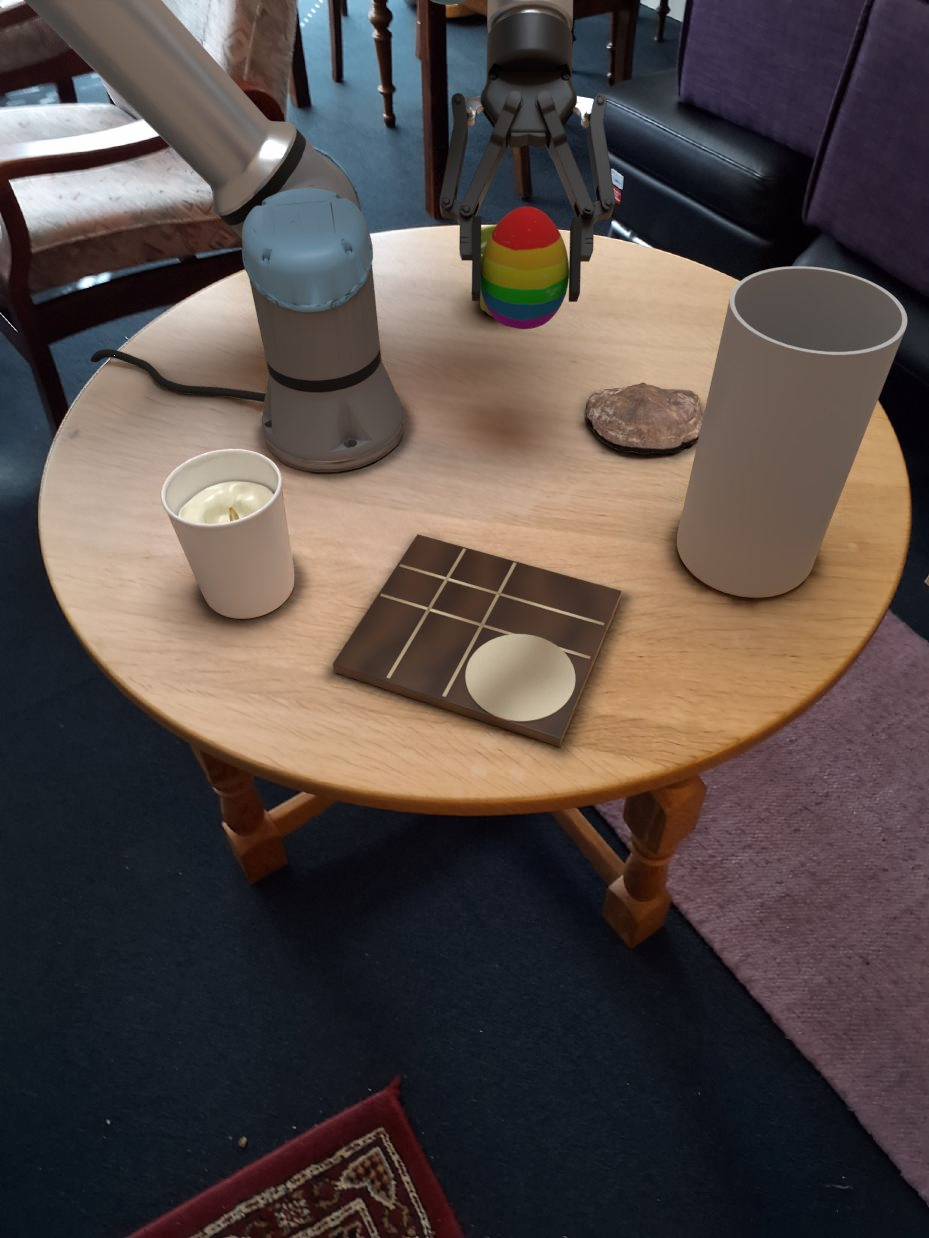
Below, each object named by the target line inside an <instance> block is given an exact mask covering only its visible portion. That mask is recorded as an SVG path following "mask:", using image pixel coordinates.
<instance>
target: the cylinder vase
mask: <svg viewBox="0 0 929 1238" xmlns="http://www.w3.org/2000/svg"><path fill="white" fill-rule="evenodd" d="M907 325H908V316H907V312H906V310H905V307H904V306H903V305H902V304H901V302H900V301H899V300H898V299H897V298H896V297H895V295H893V294H892V293H890V292H889V291H888V290H887V289H885V288H883V287H882V286H880V285H878V284H876V283H874V282H873V281H870V280H868V279H866V278H863V277H860V276H858V275H855V274H852V273H848V272H845V271H841V270H836V269H832V268H831V269H830V268H825V267H818V266H806V265H805V266H804V265H803V266H802V265H801V266H800V265H796V266H794V265H792V266H780V267H773V268H768V269H764V270H759V271H758V272H755V273H752V274H750V275H748V276H746V277H744V278H743V279H742V280H740V281H739V282H738V283H736V284H735V286H734V287H733V288H732V290H731V292H730V294H729V300H728V304H727V309H726V313H725V317H724V322H723V326H722V330H721V335H720V340H719V344H718V349H717V354H716V358H715V363H714V368H713V372H712V376H711V381H710V385H709V390H708V394H707V398H706V403H705V407H704V412H703V415H702V416H703V421H702V425H701V430H700V434H699V436H698V438H697V444H696V448H695V452H694V457H693V462H692V466H691V470H690V475H689V479H688V483H687V489H686V492H685V496H684V497H685V498H684V502H683V507H682V511H681V516H680V520H679V525H678V528H677V534H676V548H677V552H678V555H679V557H680V559H681V562H682V563H683V564H684V565H685V567H686V568H687V570H689V572H690V573H691V574H692V575H693V576H694V577H696V578H697V579H698V580H699V581H701V583H704V584H705V585H707V586H708V587H711V588H713V589H715V590H717V591H720V592H722V593H725V594H729V595H733V596H736V597H742V598H754V599H757V598H759V599H760V598H770V597H775V596H779V595H782V594H786V593H788V592H790V591H792V590H793V589H795V588H796V587H798V586H800V585H801V584H802V583H803V582H804V581H805V580H806V579H807V578H808V576H809V575H810V573H811V572H812V569H813V567H814V565H815V562H816V559H817V557H818V554H819V551H820V549H821V546H822V545H823V541H824V539H825V537H826V534H827V531H828V529H829V526H830V523H831V521H832V519H833V515H834V513H835V510H836V509H837V506H838V503H839V501H840V498H841V495H842V493H843V490H844V488H845V485H846V482H847V480H848V478H849V475H850V472H851V469H852V468H853V465H854V462H855V460H856V457H857V454H858V452H859V449H860V446H861V445H862V441H863V439H864V437H865V434H866V431H867V429H868V426H869V425H870V422H871V418H872V417H873V413H874V411H875V409H876V405H877V403H878V400H879V398H880V396H881V393H882V390H883V388H884V385H885V383H886V381H887V377H888V376H889V373H890V370H891V368H892V365H893V362H894V360H895V357H896V355H897V352H898V350H899V347H900V344H901V342H902V340H903V336H904V334H905V332H906V329H907Z"/></svg>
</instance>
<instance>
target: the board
mask: <svg viewBox="0 0 929 1238" xmlns="http://www.w3.org/2000/svg"><path fill="white" fill-rule="evenodd" d="M621 596H622V590H620V589H617V588H613V587H609V586H606V585H603V584H602V585H601V584H598V583H595V582H592V581H588V580H584V579H581V578H577V577H574V576H570V575H566V574H562V573H559V572H555V571H551V570H548V569H544V568H541V567H537V566H535V565H530V564H526V563H523V562H519V561H515V560H512V559H508V558H505V557H501V556H498V555H494V554H490V553H487V552H483V551H479V550H476V549H472V548H469V547H465V546H461V545H458V544H455V543H451V542H447V541H445V540H440V539H436V538H433V537H431V536H430V537H429V536H426V535H423V534H416V536H415V537H414V539H413V540H412V542H411V543H410V545H409V546H408V548H407V550H406V551H405V553H404V554H403V556H401V559H400V560H399V562H398V563H397V564H396V566H395V568H394V569H393V571H392V572H391V574H390V576H389V577H388V578H387V580H386V582H385V583H384V584H383V586H382V588H381V589H380V590H379V592H378V594H377V595H376V597H375V598H374V600H373V601H372V603H371V605H370V606H369V607H368V609H367V611H366V612H365V613H364V616H363V617H362V618H361V620H360V621H359V623H358V624H357V626H356V627H355V629H354V630H353V632H352V633H351V634H350V637H349V638H348V640H347V641H346V643H345V644H344V645H343V647H342V649H341V650H340V651H339V653H338V655H337V656H336V658H335V660H334V661H333V663H332V666H333V671H334V673H336V674H337V675H342V676H344V677H347V678H350V679H354V680H357V681H359V682H362V683H366V684H369V685H371V686H374V687H377V688H381V689H384V690H387V691H389V692H393V693H396V694H398V695H401V696H405V697H407V698H410V699H414V700H417V701H420V702H423V703H426V704H429V705H432V706H435V707H438V708H440V709H444V710H447V711H450V712H453V713H456V714H458V715H462V716H464V717H468V718H471V719H474V720H477V721H480V722H483V723H486V724H488V725H492V726H495V727H497V728H500V729H504V730H507V731H510V732H513V733H516V734H518V735H522V736H524V737H528V738H531V739H534V740H537V741H540V742H543V743H546V744H549V745H552V746H555V747H558V748H560V747H561V746H562V744H563V743H562V742H563V740H564V738H565V735H566V733H567V731H568V728H569V726H570V724H571V721H572V719H573V716H574V714H575V712H576V709H577V706H578V703H579V702H580V699H581V696H582V694H583V692H584V689H585V687H586V684H587V682H588V680H589V678H590V674H591V672H592V669H593V668H594V666H595V665H594V664H595V662H596V660H597V657H598V655H599V652H600V650H601V648H602V645H603V642H604V640H605V638H606V636H607V633H608V630H609V628H610V626H611V623H612V621H613V618H614V616H615V613H616V611H617V609H618V606H619V604H620V601H621Z"/></svg>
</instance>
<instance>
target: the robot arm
mask: <svg viewBox="0 0 929 1238" xmlns="http://www.w3.org/2000/svg"><path fill="white" fill-rule="evenodd" d="M23 1H24V2H25V3H26V4H27V5H28V6H29V7H30V8H31V9H32V10H33V11H34V12H35V13H36V14H37V15H38V17H40V18H41V19H42V21H44V22H45V23H46V24H47V25H48V26H49V28H51V29H52V30H53V31H54V32H55V33H56V34H57V35H58V36H59V37H60V38H61V39H62V40H63V41H64V42H65V43H66V44H67V45H68V47H70V48H71V49H72V50H73V51H74V52H75V53H76V55H78V56H79V57H80V58H81V60H83V61H84V62H85V63H86V64H87V65H88V66H89V67H90V68H91V69H92V70H93V72H95V73H96V74H97V75H98V76H99V77H100V78H101V79H102V80H103V81H104V82H105V83H106V84H107V85H108V86H109V87H110V88H111V89H112V90H113V91H114V92H115V94H117V95H118V96H119V97H120V98H121V99H122V100H123V101H124V102H125V103H126V104H127V105H128V106H129V107H130V108H131V109H132V110H133V111H134V112H135V113H136V114H137V115H138V116H139V117H140V118H141V119H142V120H143V121H144V122H145V123H146V124H147V125H148V126H149V127H150V128H151V129H152V130H153V131H154V132H155V133H156V134H157V135H158V136H159V137H160V138H161V139H162V140H163V141H164V142H165V143H166V144H167V145H168V146H169V147H170V148H171V149H172V150H173V151H174V152H175V153H176V154H177V155H178V156H179V157H180V158H181V159H182V160H183V161H184V162H185V163H186V164H187V165H188V166H189V167H190V168H191V169H192V170H193V171H194V172H195V173H196V174H197V175H198V176H199V177H200V178H201V179H202V180H203V181H204V182H205V183H206V184H208V186H209V187H210V189H211V190H210V191H211V196H212V209H213V212H214V213H215V214H216V215H217V216H218V217H220V219H221V220H222V221H224V222H225V223H226V225H228V227H230V229H232V231H234V233H236V234H237V236H238V237H239V238H240V239H241V243H242V246H241V247H242V248H241V254H242V255H241V256H242V263H243V267H244V271H245V272H246V274H247V277H248V279H249V283H250V285H249V286H250V290H251V295H252V300H253V305H254V309H255V313H256V314H255V315H256V318H257V323H258V328H259V334H260V339H261V343H262V348H263V353H264V359H265V363H266V367H267V372H268V374H267V375H268V376H267V382H266V388H265V392H259V391H253V390H245V389H237V388H229V387H222V386H221V387H219V386H206V385H190V384H182V383H178V382H174V381H171V380H169V379H168V378H165V377H164V376H163V375H162V374H161V373H159V371H158V370H157V369H156V368H155V367H154V366H153V365H152V364H151V363H150V362H148V361H147V360H144V359H142V358H139V357H137V356H134V355H132V354H130V353H127V352H123V351H121V350H116V349H112V348H111V349H110V348H104V349H103V348H102V349H99V350H96V351H95V352H94V353H93V355H92V356H91V358H90V362H91V363H98V362H101V360H103V359H107V358H109V359H114V360H115V359H116V360H119V361H122V362H125V363H127V364H130V365H133V366H134V367H137V368H139V369H142V370H144V371H145V372H146V373H147V374H148V375H149V376H150V377H151V379H152V380H153V381H155V383H157V384H158V385H159V386H160V387H162V388H164V389H166V390H169V391H172V392H176V393H180V394H186V395H197V396H199V395H201V396H215V397H224V398H233V399H240V400H249V401H256V402H262V403H263V406H262V407H263V408H262V414H261V429H262V433H263V439H264V442H265V445H266V447H267V449H268V450H269V452H270V453H271V454H272V455H273V456H274V457H275V458H276V459H277V460H279V461H280V462H282V463H283V464H286V465H287V466H290V467H293V468H294V469H299V470H302V471H307V472H314V473H338V472H339V473H340V472H344V471H346V472H347V471H351V470H355V469H359V468H362V467H365V466H368V465H370V464H372V463H375V462H377V461H378V460H380V459H381V458H383V457H386V455H387V454H389V453H390V452H391V451H392V450H393V449H395V447H396V446H397V445H398V444H399V443H400V441H401V440H402V437H403V435H404V432H405V431H404V430H405V417H404V416H405V415H404V409H403V405H402V402H401V399H400V397H399V395H398V393H397V392H396V390H395V388H394V385H393V383H392V381H391V378H390V376H389V374H388V371H387V369H386V368H385V366H384V365H385V364H384V363H383V360H382V351H381V342H380V331H379V321H378V311H377V302H376V292H375V291H376V290H375V281H374V280H375V279H374V272H373V271H374V270H373V260H374V247H373V246H374V245H373V242H372V237H371V234H370V232H369V228H368V223H367V220H366V219H365V216H364V214H363V212H362V205H361V202H360V198H359V194H358V191H357V190H356V187H355V184H354V182H353V180H352V179H351V177H350V176H349V174H348V173H347V171H346V170H345V168H344V167H343V166H342V165H341V164H340V163H339V162H338V161H337V159H335V158H334V157H333V156H332V155H331V154H330V153H328V152H327V151H325V150H324V149H321V148H319V147H316V146H314V145H312V144H311V143H310V142H309V140H307V138H305V136H304V135H303V134H302V132H301V131H300V130H299V129H298V128H297V127H296V126H295V125H294V124H293V123H292V122H291V121H273V120H270V119H268V118H267V117H266V115H264V113H263V112H262V111H261V110H260V109H259V108H258V106H257V105H256V104H255V103H254V102H253V101H252V100H251V99H250V97H249V96H248V95H247V94H246V93H245V92H244V91H243V90H242V89H241V87H240V86H239V85H238V84H237V83H236V82H235V81H234V80H233V78H231V76H230V75H229V74H228V73H227V72H226V71H225V70H224V68H223V67H222V66H221V65H220V64H219V63H218V62H217V61H216V59H215V58H214V57H213V56H212V55H211V54H210V52H208V50H207V49H206V48H205V47H204V46H203V44H201V42H200V41H198V40H197V38H196V37H195V36H194V35H193V33H191V31H190V30H189V29H188V28H187V27H186V26H185V25H184V24H183V23H182V22H181V20H180V19H179V18H178V16H176V15H175V14H174V13H173V11H172V10H171V9H170V8H169V7H168V6H167V5H166V4H165V2H164V1H163V0H23ZM429 1H431V2H432V3H436V4H438V5H444V6H454V5H459V4H462V3H465V2H466V1H468V0H429ZM486 15H487V18H486V20H487V26H486V28H487V29H486V30H487V32H488V33H487V37H486V75H485V77H486V81H485V84H484V87H483V89H482V91H481V93H480V95H474V96H468V97H465V95H463V94H462V93H460V92H456V93H454V94H453V95H452V96H451V100H450V103H451V104H450V105H451V116H452V117H451V118H452V122H453V125H452V131H451V137H450V141H449V142H450V143H449V147H448V148H449V149H448V153H447V158H446V163H445V169H444V174H443V180H442V184H441V189H440V196H439V210H440V215H441V217H442V218H443V219H445V220H449V219H450V220H453V221H455V222H457V223H458V225H459V240H458V241H459V242H458V245H459V247H458V249H459V258H460V259H461V261H464V262H466V261H468V262H471V301H472V302H480V285H481V228H482V216H479V215H478V216H477V214H478V213H479V210H480V208H481V206H482V204H483V201H484V199H485V198H486V194H487V192H488V190H489V188H490V186H491V184H492V181H493V179H494V176H495V175H496V172H497V170H498V168H499V165H500V163H501V161H502V159H503V158H504V157H505V154H506V152H507V151H508V149H509V148H522V147H525V146H529V147H533V148H541V149H542V148H546V151H547V153H548V156H549V158H550V159H551V160H552V162H553V165H554V167H555V169H556V172H557V174H558V176H559V179H560V181H561V184H562V186H563V189H564V191H565V194H566V196H567V198H568V202H569V204H570V206H571V208H572V211H573V213H574V216H573V217H572V220H571V223H570V227H569V255H568V262H569V281H568V303H578V300H579V297H580V294H581V274H582V273H581V269H582V268H581V267H582V266H581V265H582V263H589V262H590V260H591V258H592V256H593V253H594V240H595V239H594V238H595V237H594V236H595V234H594V233H595V224H596V223H598V222H601V221H602V220H603V221H607V220H609V219H610V218H611V217H612V214H613V211H614V209H615V206H616V196H615V195H616V194H615V190H614V182H613V177H612V170H611V162H610V156H609V150H608V144H607V143H608V142H607V136H606V130H605V124H604V123H605V122H604V121H605V115H606V110H607V104H608V98H607V96H606V95H605V94H603V93H598V94H596V95H595V96H594V98H591V97H585V96H579V95H578V93H577V91H576V89H575V88H574V84H573V80H572V79H573V76H572V75H573V33H572V29H573V24H574V23H573V21H574V20H573V19H574V0H487V14H486ZM480 113H482V114H483V115H484V116H485V118H486V119H487V122H489V124H490V126H492V128H493V129H492V132H491V134H490V138H489V140H488V143H487V145H486V148H485V150H484V152H483V154H482V156H481V159H480V161H479V163H478V165H477V167H476V170H475V172H474V175H473V177H472V179H471V182H470V184H469V185H468V188H467V191H466V192H465V195H464V197H463V200H459V199H458V194H459V187H460V184H461V183H460V182H461V177H462V172H463V167H464V161H465V157H466V150H467V144H468V139H469V128H471V127H473V126H474V125H475V124H476V121H477V116H478V115H479V114H480ZM573 114H576V115H578V117H579V122H580V125H581V126H582V127H583V128H585V129H586V143H587V150H588V157H589V162H590V170H591V177H592V183H593V188H594V190H593V191H594V195H595V201H594V202H593V201H592V200H593V199H592V198H591V196H590V193H589V191H588V188H587V186H586V183H585V181H584V179H583V176H582V174H581V171H580V169H579V166H578V163H577V161H576V159H575V157H574V154H573V152H572V149H571V147H570V144H569V142H568V137H567V136H568V135H567V133H566V131H565V128H564V126H565V125H566V124H567V122H568V121H569V119H570V118H571V117H572V116H573ZM114 355H115V356H114Z"/></svg>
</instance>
